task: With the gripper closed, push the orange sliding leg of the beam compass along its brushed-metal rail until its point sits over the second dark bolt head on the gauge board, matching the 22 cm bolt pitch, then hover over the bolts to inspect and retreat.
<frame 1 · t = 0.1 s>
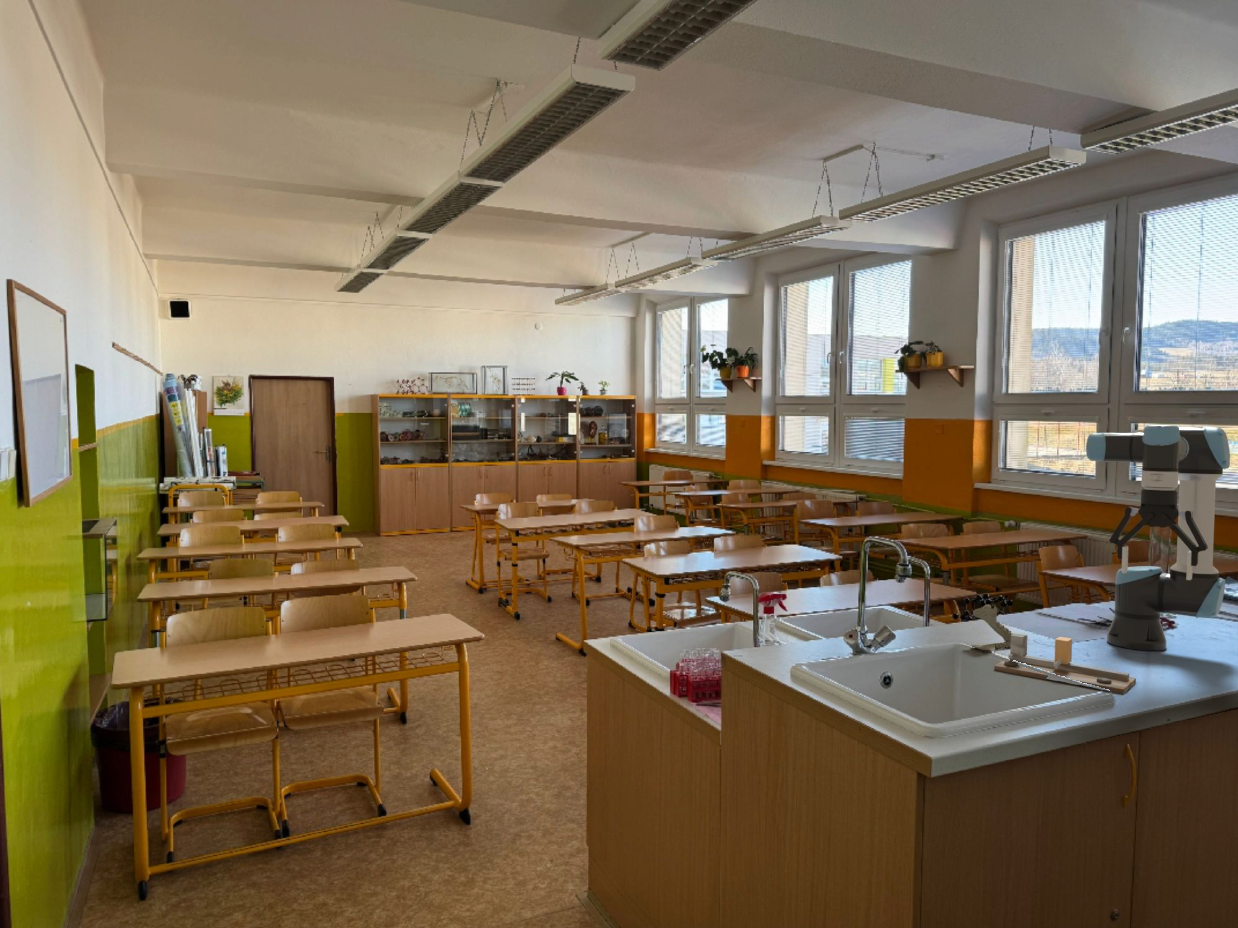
hand: (1156, 575, 211), 28 cm above the table, fingers open, 13 cm apart
sliding leg: (1060, 653, 224), point 6 cm above the table, slide at 0.0 cm
gauge board: (1063, 676, 223), on the table
jawbone: (991, 648, 252), on the table
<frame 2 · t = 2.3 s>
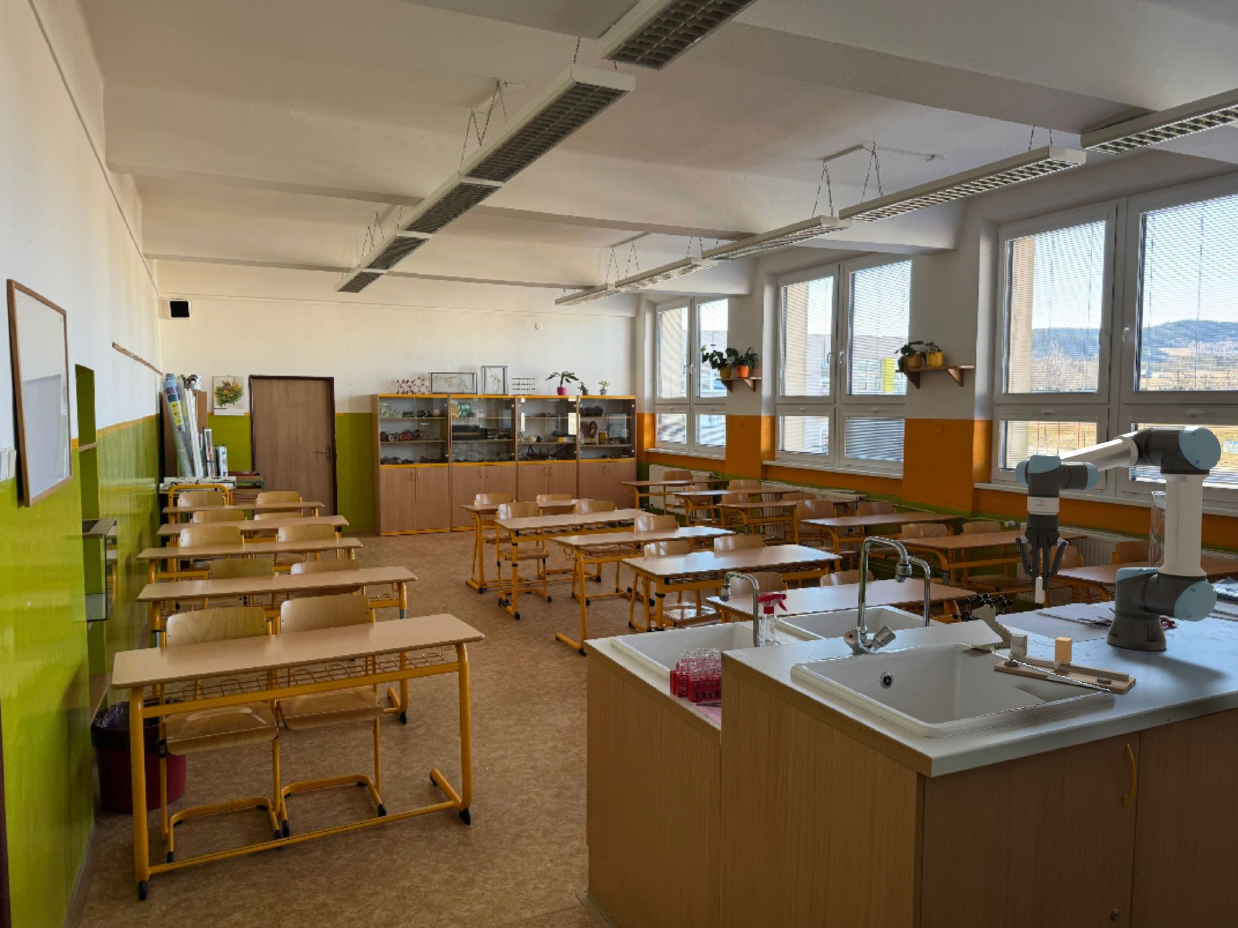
hand: (1039, 601, 229), 18 cm above the table, fingers closed
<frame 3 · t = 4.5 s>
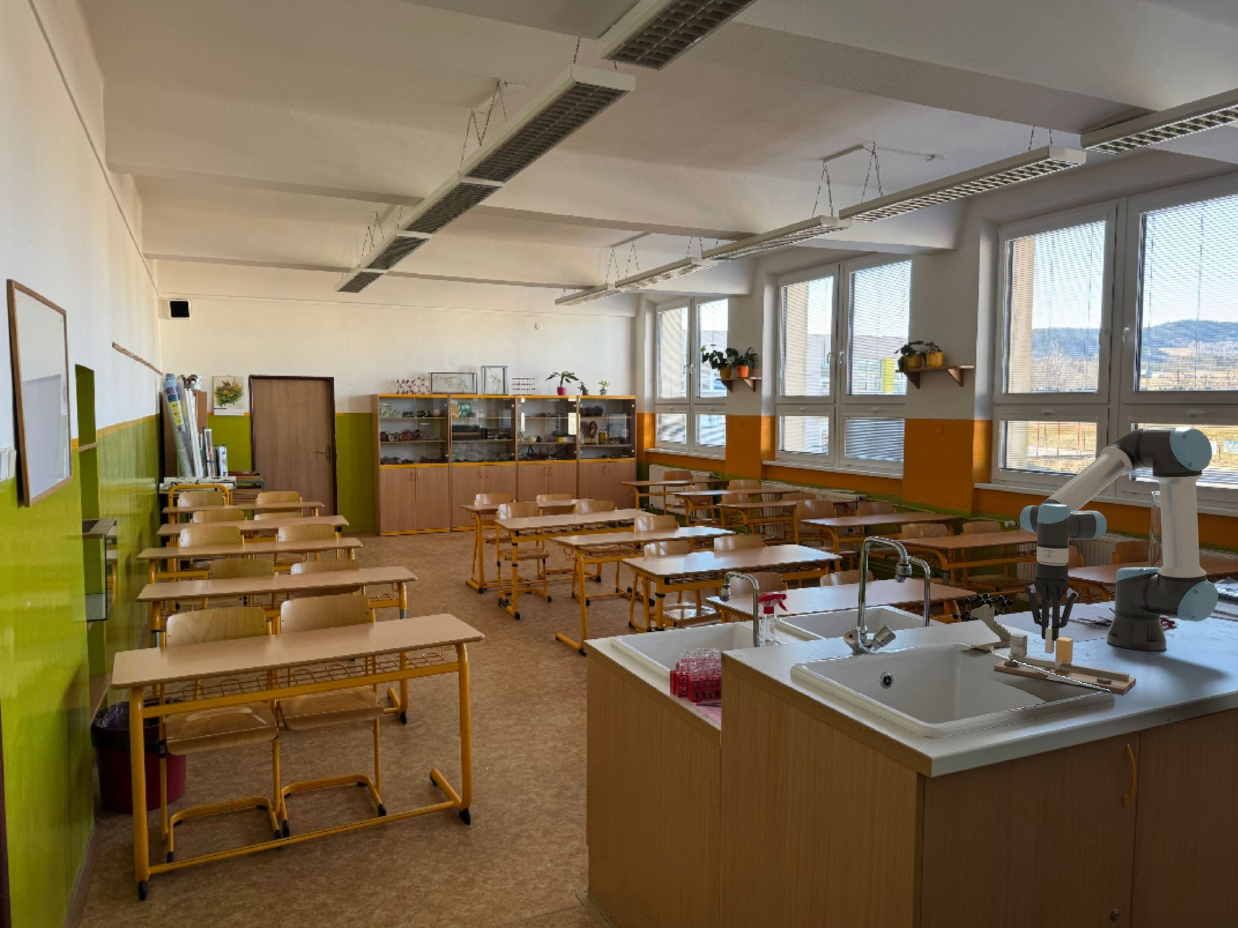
hand: (1049, 652, 228), 5 cm above the table, fingers closed
sliding leg: (1061, 653, 224), point 6 cm above the table, slide at 0.2 cm, touching gripper
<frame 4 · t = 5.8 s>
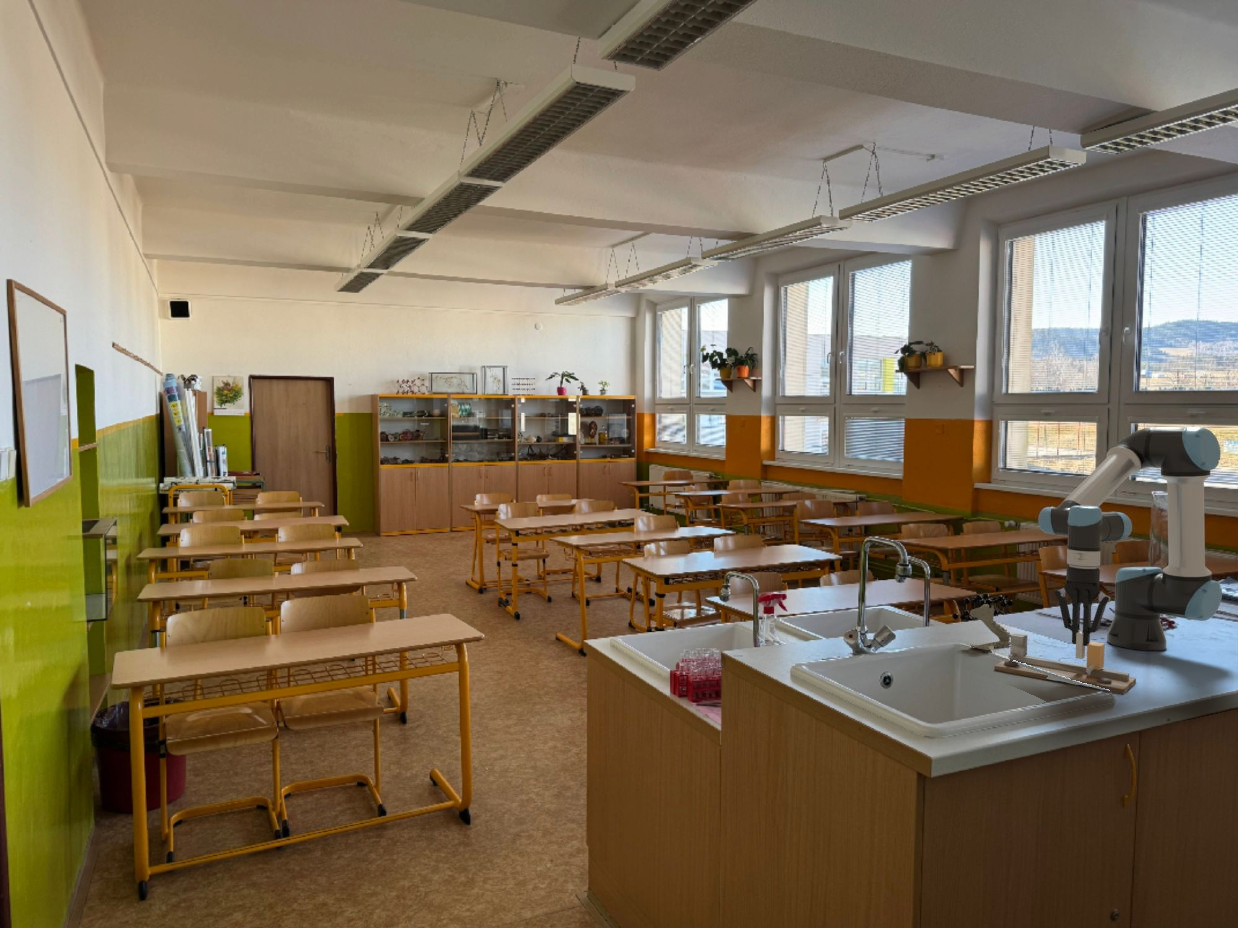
hand: (1080, 657, 223), 5 cm above the table, fingers closed
sliding leg: (1092, 658, 219), point 6 cm above the table, slide at 7.6 cm, touching gripper
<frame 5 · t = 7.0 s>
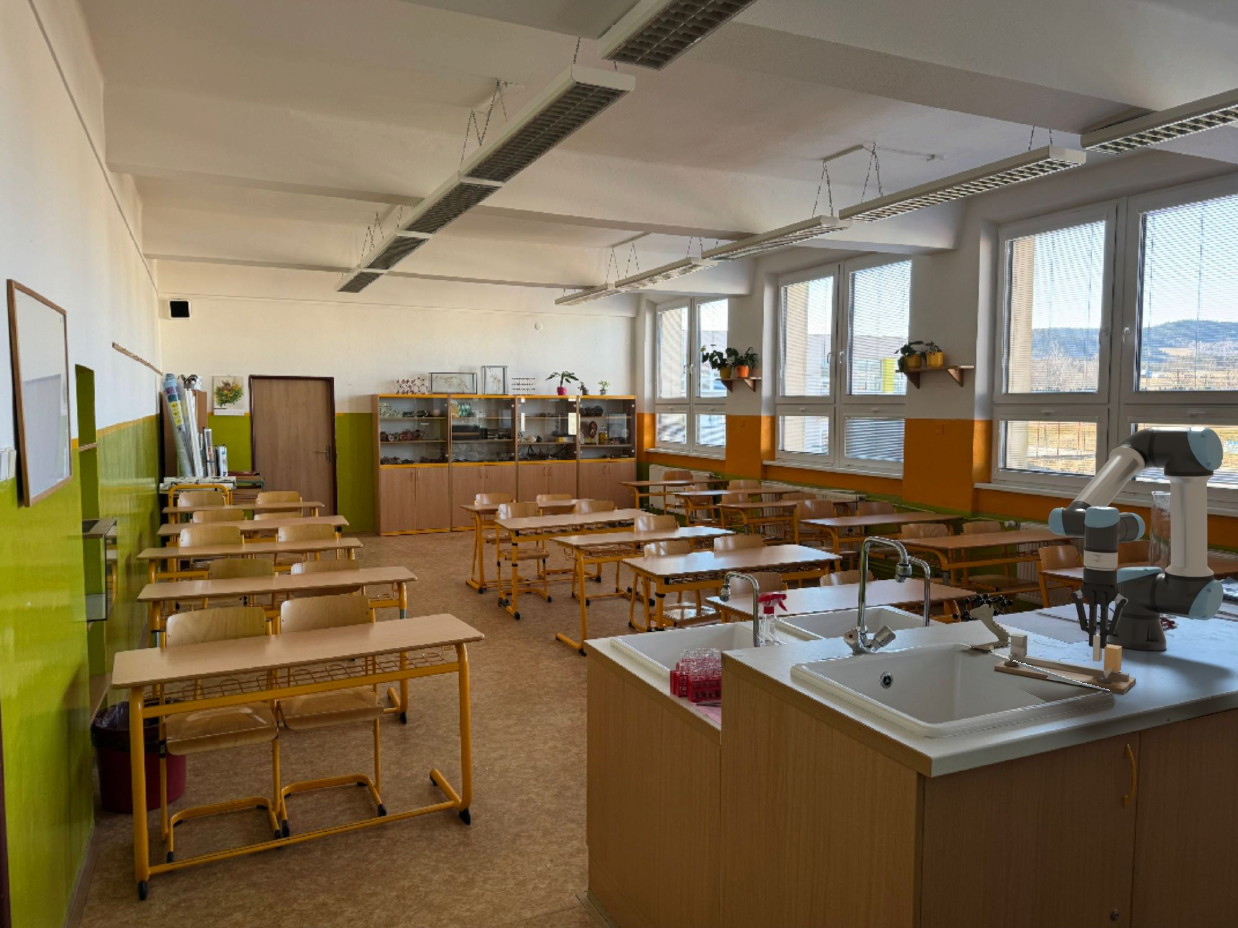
hand: (1097, 660, 220), 5 cm above the table, fingers closed
sliding leg: (1110, 661, 216), point 6 cm above the table, slide at 11.5 cm, touching gripper
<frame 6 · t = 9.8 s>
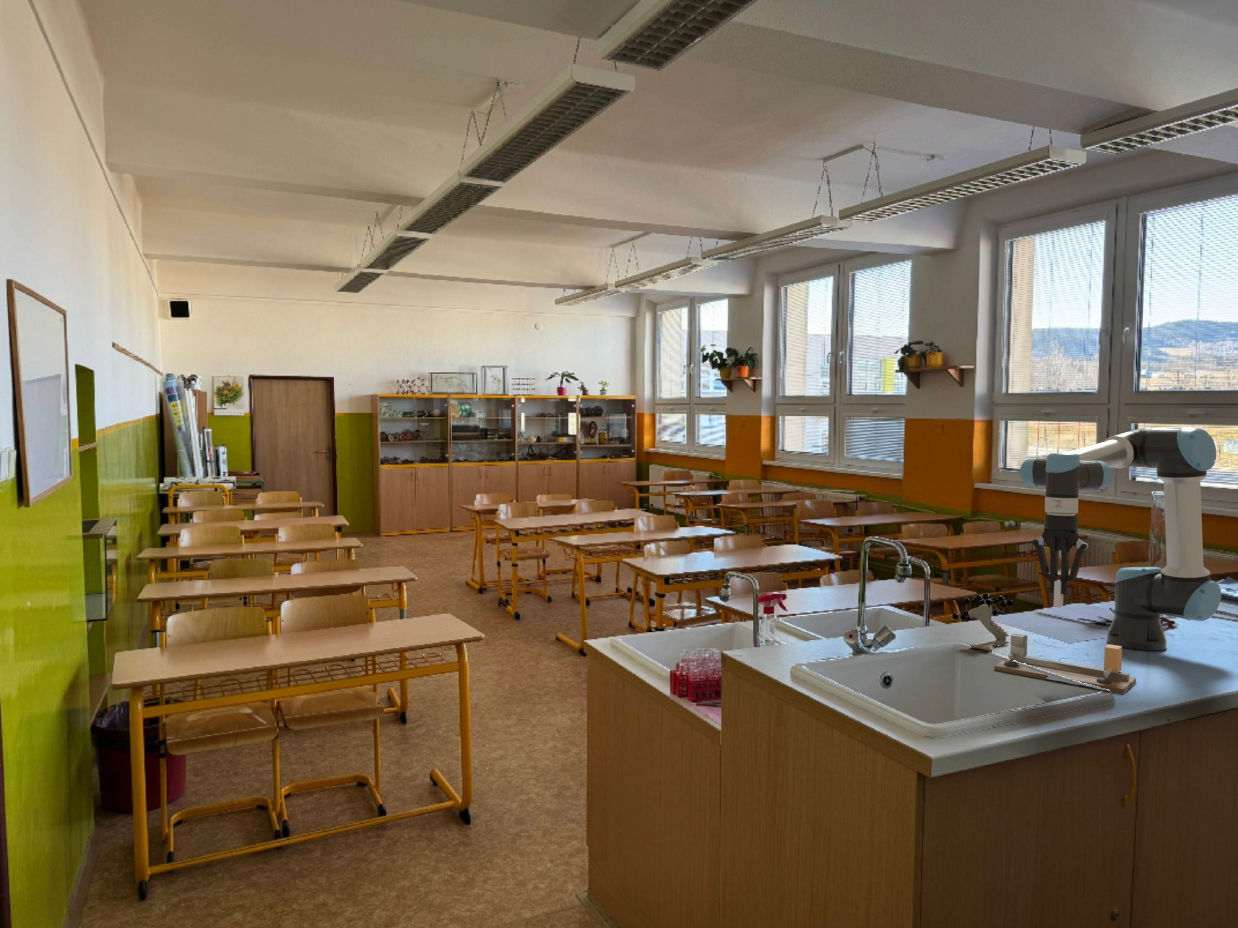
hand: (1058, 606, 221), 18 cm above the table, fingers closed
sliding leg: (1110, 661, 216), point 6 cm above the table, slide at 11.5 cm
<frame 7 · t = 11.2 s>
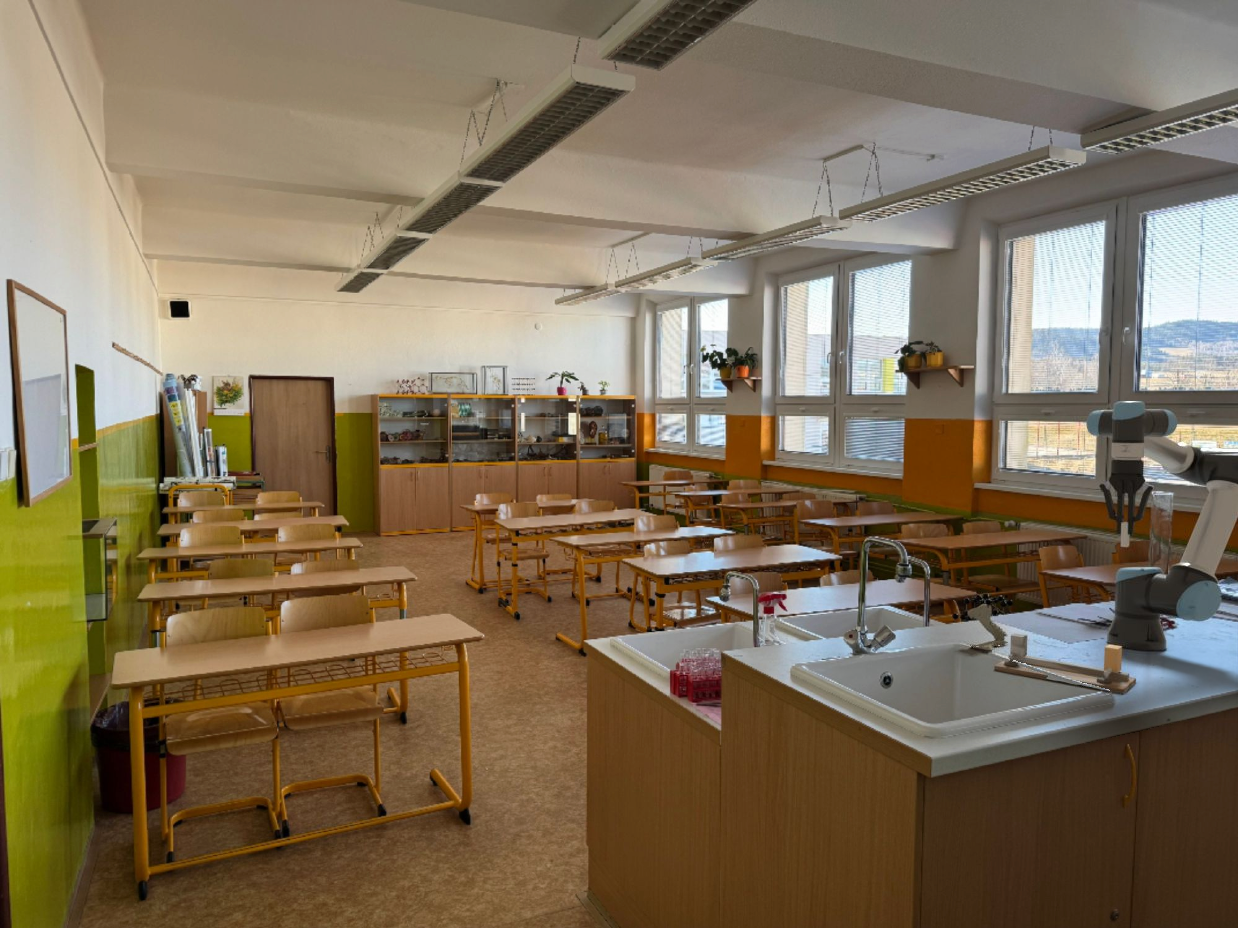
hand: (1124, 546, 234), 32 cm above the table, fingers closed
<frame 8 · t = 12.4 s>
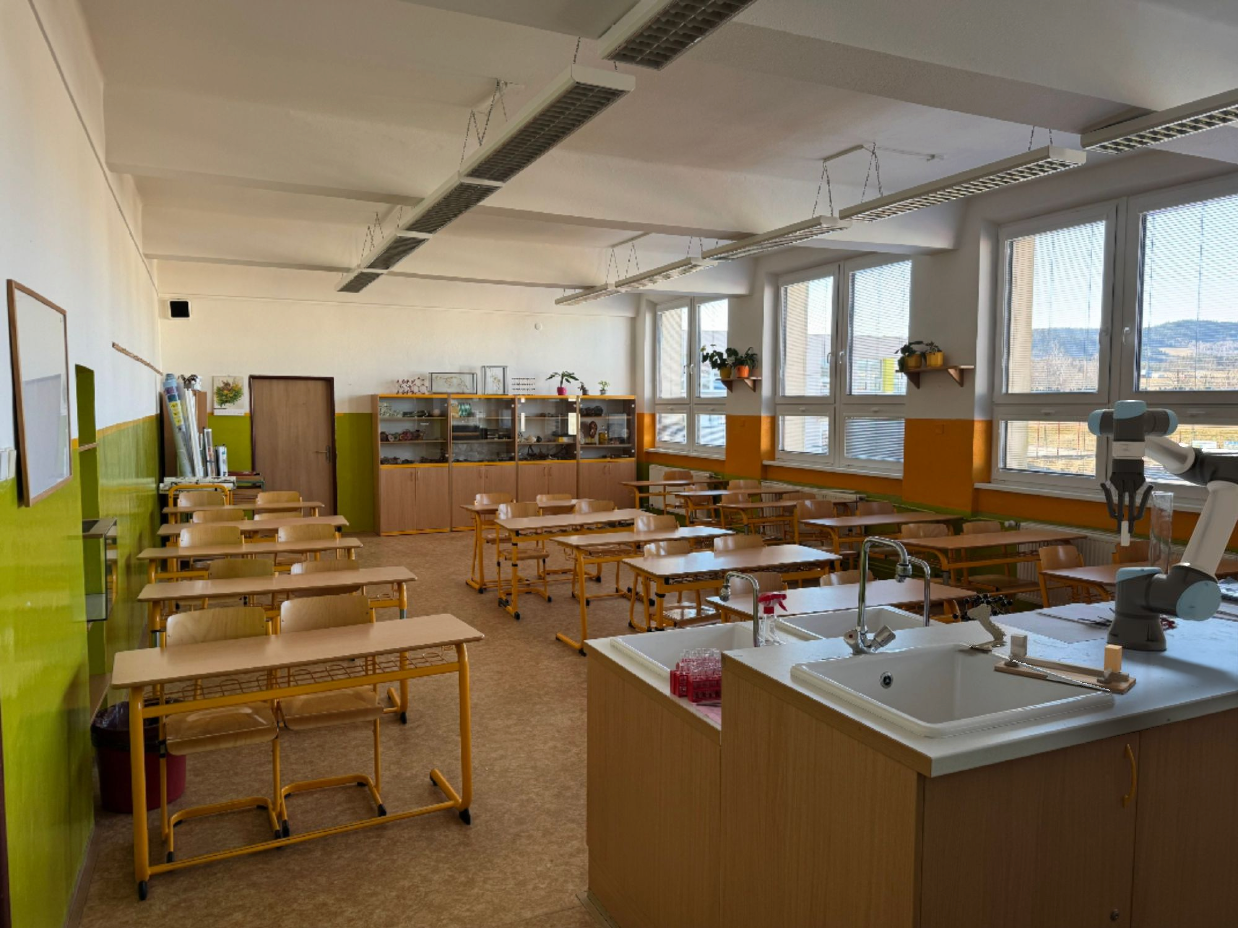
hand: (1125, 545, 234), 32 cm above the table, fingers closed
at the end: sliding leg slide at 11.5 cm; sliding leg 0.5 cm from the target spot on the gauge board, point 5.7 cm above the gauge board's base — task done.
